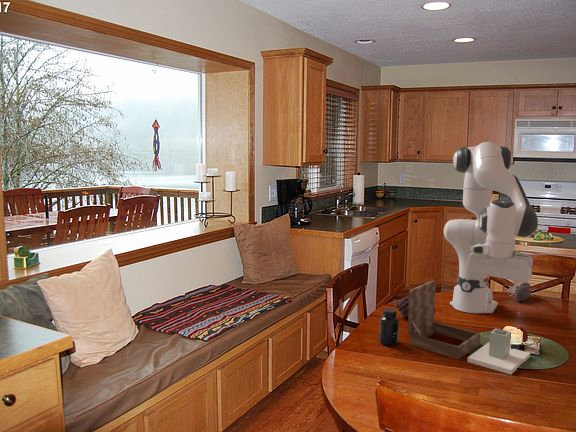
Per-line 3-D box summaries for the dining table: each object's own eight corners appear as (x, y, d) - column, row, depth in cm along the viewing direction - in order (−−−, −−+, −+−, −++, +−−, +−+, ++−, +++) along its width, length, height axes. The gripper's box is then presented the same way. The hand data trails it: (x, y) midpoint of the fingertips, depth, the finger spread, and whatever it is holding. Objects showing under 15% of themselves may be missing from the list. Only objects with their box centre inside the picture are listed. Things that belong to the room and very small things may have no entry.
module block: (494, 350, 176) (495, 327, 175) (509, 355, 173) (511, 330, 172) (488, 355, 172) (490, 331, 171) (503, 359, 169) (505, 334, 168)
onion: (513, 342, 188) (515, 320, 187) (529, 346, 184) (531, 324, 183) (506, 346, 184) (508, 324, 183) (523, 351, 180) (525, 329, 179)
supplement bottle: (398, 346, 183) (399, 314, 181) (378, 345, 184) (379, 312, 183) (398, 339, 190) (399, 308, 188) (379, 338, 191) (380, 306, 189)
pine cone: (438, 320, 211) (439, 296, 209) (428, 326, 203) (429, 302, 202) (398, 311, 222) (399, 288, 220) (387, 317, 214) (388, 293, 212)
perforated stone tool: (522, 304, 232) (523, 289, 231) (510, 302, 235) (511, 287, 234) (532, 297, 243) (533, 282, 242) (520, 295, 247) (521, 280, 246)
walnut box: (430, 330, 199) (433, 280, 196) (479, 343, 186) (483, 290, 183) (407, 344, 185) (409, 290, 183) (458, 359, 173) (461, 301, 170)
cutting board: (488, 346, 184) (488, 342, 184) (529, 357, 175) (530, 352, 174) (467, 361, 171) (467, 357, 170) (510, 374, 161) (511, 370, 161)
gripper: (536, 252, 166) (533, 294, 168) (473, 243, 179) (471, 282, 181) (530, 256, 161) (527, 298, 163) (466, 246, 174) (464, 286, 177)
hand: (497, 290), depth 172 cm, fingers open, 8 cm apart
